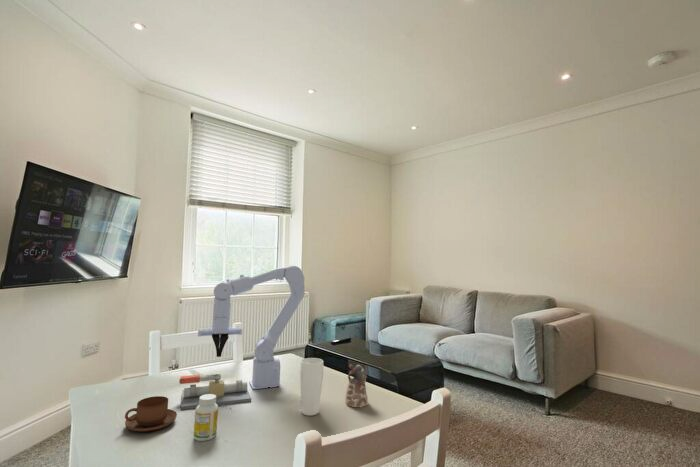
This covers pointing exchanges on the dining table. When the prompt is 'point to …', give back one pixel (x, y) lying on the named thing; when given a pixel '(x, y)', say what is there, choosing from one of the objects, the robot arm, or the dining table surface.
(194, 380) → the valve lever
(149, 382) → the dining table surface
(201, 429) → the supplement bottle
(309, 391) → the drinking glass
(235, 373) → the dining table surface
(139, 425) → the cup and saucer
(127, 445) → the dining table surface
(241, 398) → the valve board
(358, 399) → the figurine
